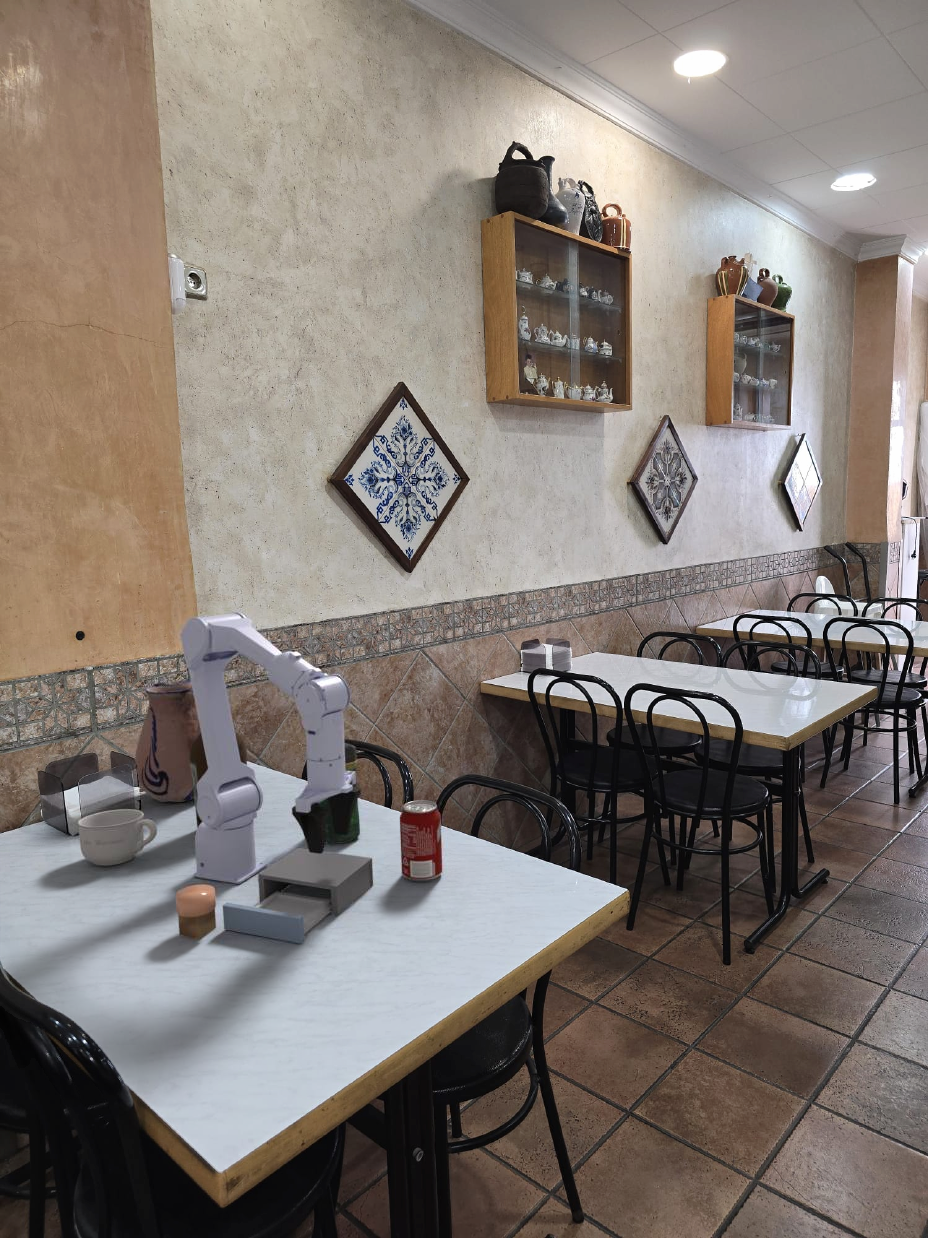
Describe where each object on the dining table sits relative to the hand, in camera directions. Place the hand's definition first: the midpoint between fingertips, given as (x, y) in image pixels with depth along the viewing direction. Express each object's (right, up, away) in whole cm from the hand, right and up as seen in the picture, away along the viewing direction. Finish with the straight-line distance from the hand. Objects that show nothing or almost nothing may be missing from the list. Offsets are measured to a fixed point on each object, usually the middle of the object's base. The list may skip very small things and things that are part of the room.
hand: (329, 843), depth 126 cm
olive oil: (-26, -7, +35) cm, 44 cm away
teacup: (-41, -9, +21) cm, 47 cm away
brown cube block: (-18, -11, -6) cm, 22 cm away
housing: (-3, -10, +5) cm, 11 cm away
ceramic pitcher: (-41, -5, +55) cm, 69 cm away
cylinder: (-18, -8, -7) cm, 21 cm away
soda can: (+14, -9, +11) cm, 20 cm away
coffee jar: (-4, -7, +30) cm, 31 cm away
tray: (-6, -10, -4) cm, 13 cm away
